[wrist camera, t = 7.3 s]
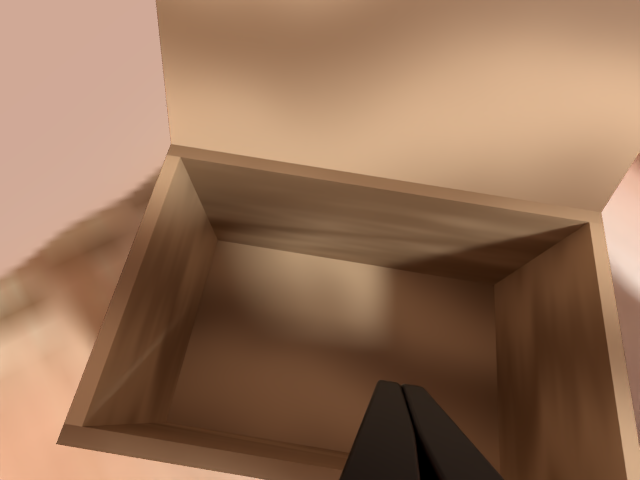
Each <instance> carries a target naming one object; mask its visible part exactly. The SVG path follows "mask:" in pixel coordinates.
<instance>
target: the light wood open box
mask: <svg viewBox="0 0 640 480" xmlns="http://www.w3.org/2000/svg"><path fill="white" fill-rule="evenodd" d="M379 380H386V381H392V382H397V383H399V384H400V385H401V384H410V385H416V386H421V387H423V388H424V389H425V390H426V391H427V392H428V393H429V394H430V395H431V396H432V398H433V399H434V400H435V401H436V402H437V403H438V404H439V405H440V407H441V408H442V409H443V410H444V411H445V412H446V413H447V415H448V416H449V417H450V418H451V419H452V420H453V421H454V423H455V424H456V425H457V426H458V427H459V428H460V429H461V431H462V432H463V433H464V434H465V435H466V436H467V437H468V438H469V440H470V441H471V442H472V443H473V444H474V445H475V446H476V448H477V449H478V450H479V451H480V452H481V453H482V454H483V456H484V457H485V458H486V459H487V460H488V461H489V462H490V464H491V465H492V466H493V467H494V468H495V469H496V470H497V471H498V473H499V474H500V475H501V476H502V477H503V478H504V479H505V480H640V446H639V440H638V434H637V428H636V422H635V416H634V410H633V404H632V397H631V391H630V385H629V379H628V373H627V367H626V361H625V355H624V349H623V342H622V336H621V330H620V324H619V318H618V312H617V306H616V300H615V294H614V287H613V281H612V275H611V269H610V263H609V257H608V251H607V245H606V239H605V232H604V226H603V220H602V214H601V212H596V211H590V210H584V209H578V208H571V207H565V206H559V205H552V204H546V203H540V202H533V201H527V200H521V199H514V198H508V197H502V196H496V195H489V194H483V193H477V192H470V191H464V190H458V189H451V188H445V187H439V186H433V185H426V184H420V183H414V182H407V181H401V180H395V179H388V178H382V177H376V176H370V175H363V174H357V173H351V172H344V171H338V170H332V169H325V168H319V167H313V166H307V165H300V164H294V163H288V162H281V161H275V160H269V159H262V158H256V157H250V156H244V155H237V154H231V153H225V152H218V151H212V150H206V149H199V148H193V147H187V146H181V145H174V144H171V145H170V148H169V150H168V153H167V156H166V159H165V161H164V164H163V166H162V169H161V171H160V174H159V177H158V179H157V182H156V184H155V187H154V190H153V192H152V195H151V198H150V200H149V203H148V205H147V208H146V211H145V213H144V216H143V218H142V221H141V224H140V226H139V229H138V232H137V234H136V237H135V239H134V242H133V245H132V247H131V250H130V252H129V255H128V258H127V260H126V263H125V266H124V268H123V271H122V273H121V276H120V279H119V281H118V284H117V286H116V289H115V292H114V294H113V297H112V300H111V302H110V305H109V307H108V310H107V313H106V315H105V318H104V320H103V323H102V326H101V328H100V331H99V334H98V336H97V339H96V341H95V344H94V347H93V349H92V352H91V354H90V357H89V360H88V362H87V365H86V368H85V370H84V373H83V375H82V378H81V381H80V383H79V386H78V388H77V391H76V394H75V396H74V399H73V402H72V404H71V407H70V409H69V412H68V415H67V417H66V420H65V422H64V425H63V428H62V430H61V433H60V436H59V438H58V441H57V443H56V444H59V445H65V446H71V447H77V448H83V449H88V450H94V451H100V452H106V453H112V454H118V455H124V456H130V457H136V458H142V459H147V460H153V461H159V462H165V463H171V464H177V465H183V466H189V467H195V468H200V469H206V470H212V471H218V472H224V473H230V474H236V475H242V476H248V477H254V478H259V479H265V480H339V478H340V476H341V473H342V471H343V468H344V465H345V463H346V460H347V458H348V455H349V453H350V450H351V448H352V445H353V442H354V440H355V437H356V435H357V432H358V430H359V427H360V425H361V422H362V419H363V417H364V414H365V412H366V409H367V407H368V404H369V402H370V399H371V396H372V394H373V391H374V389H375V386H376V384H377V382H378V381H379Z"/></svg>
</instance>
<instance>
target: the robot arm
mask: <svg viewBox="0 0 640 480" xmlns="http://www.w3.org/2000/svg"><path fill="white" fill-rule="evenodd" d="M339 480H505V479H504V478H503V477H502V476H501V475H500V474H499V473H498V471H497V470H496V469H495V468H494V467H493V466H492V465H491V464H490V462H489V461H488V460H487V459H486V458H485V457H484V456H483V454H482V453H481V452H480V451H479V450H478V449H477V448H476V446H475V445H474V444H473V443H472V442H471V441H470V440H469V438H468V437H467V436H466V435H465V434H464V433H463V432H462V431H461V429H460V428H459V427H458V426H457V425H456V424H455V423H454V421H453V420H452V419H451V418H450V417H449V416H448V415H447V413H446V412H445V411H444V410H443V409H442V408H441V407H440V405H439V404H438V403H437V402H436V401H435V400H434V399H433V398H432V396H431V395H430V394H429V393H428V392H427V391H426V390H425V389H424V388H423V387H421V386H416V385H410V384H401V385H400V384H399V383H397V382H392V381H386V380H379V381H378V382H377V384H376V386H375V389H374V391H373V394H372V396H371V399H370V402H369V404H368V407H367V409H366V412H365V414H364V417H363V419H362V422H361V425H360V427H359V430H358V432H357V435H356V437H355V440H354V442H353V445H352V448H351V450H350V453H349V455H348V458H347V460H346V463H345V465H344V468H343V471H342V473H341V476H340V478H339Z"/></svg>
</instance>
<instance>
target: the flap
mask: <svg viewBox="0 0 640 480" xmlns="http://www.w3.org/2000/svg"><path fill="white" fill-rule="evenodd" d="M156 7H157V16H158V26H159V35H160V44H161V54H162V62H163V63H162V64H163V73H164V82H165V92H166V101H167V111H168V120H169V129H170V139H171V144H174V145H181V146H187V147H193V148H199V149H206V150H212V151H218V152H225V153H231V154H237V155H244V156H250V157H256V158H262V159H269V160H275V161H281V162H288V163H294V164H300V165H307V166H313V167H319V168H325V169H332V170H338V171H344V172H351V173H357V174H363V175H370V176H376V177H382V178H388V179H395V180H401V181H407V182H414V183H420V184H426V185H433V186H439V187H445V188H451V189H458V190H464V191H470V192H477V193H483V194H489V195H496V196H502V197H508V198H514V199H521V200H527V201H533V202H540V203H546V204H552V205H559V206H565V207H571V208H578V209H584V210H590V211H596V212H602V210H603V209H604V207H605V206H606V204H607V203H608V201H609V199H610V198H611V196H612V195H613V193H614V192H615V190H616V188H617V187H618V185H619V184H620V182H621V181H622V179H623V178H624V176H625V174H626V173H627V171H628V170H629V168H630V167H631V165H632V163H633V162H634V160H635V159H636V157H637V156H638V154H639V153H640V0H156Z"/></svg>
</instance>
